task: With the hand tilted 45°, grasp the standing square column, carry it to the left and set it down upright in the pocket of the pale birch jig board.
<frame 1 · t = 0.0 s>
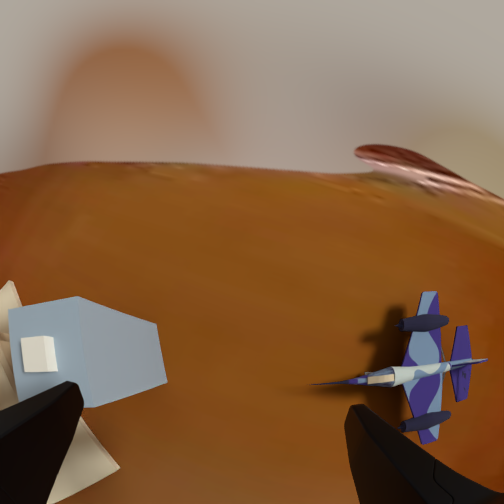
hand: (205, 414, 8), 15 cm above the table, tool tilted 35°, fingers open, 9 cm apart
toy airplane: (401, 371, 22), on the table
square column: (134, 357, 22), on the table
jig: (18, 401, 20), on the table
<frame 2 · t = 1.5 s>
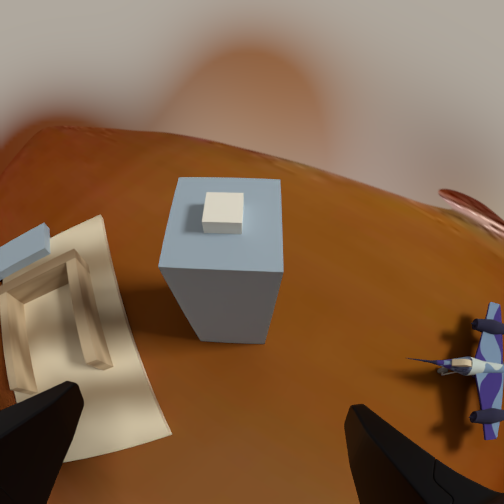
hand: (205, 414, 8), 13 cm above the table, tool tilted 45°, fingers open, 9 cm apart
toy airplane: (467, 374, 20), on the table
square column: (233, 313, 24), on the table
jig: (61, 337, 21), on the table
wing: (11, 261, 24), point 1 cm above the table, touching jig
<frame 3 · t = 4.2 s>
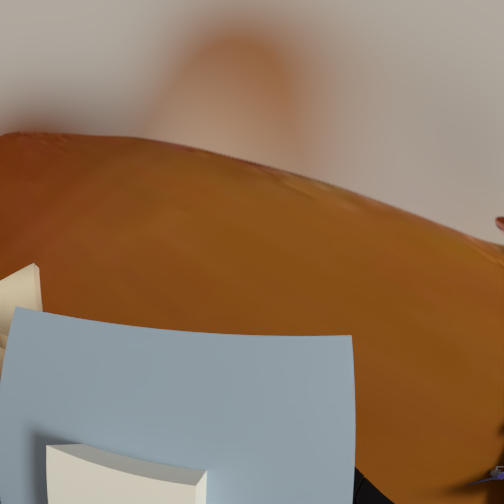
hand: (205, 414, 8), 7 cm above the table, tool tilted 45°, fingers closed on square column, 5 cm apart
square column: (220, 438, 13), on the table, touching gripper
when the fingers open (9 cm above the table, at t = 7.7 s): square column drops 1 cm, resting on jig.
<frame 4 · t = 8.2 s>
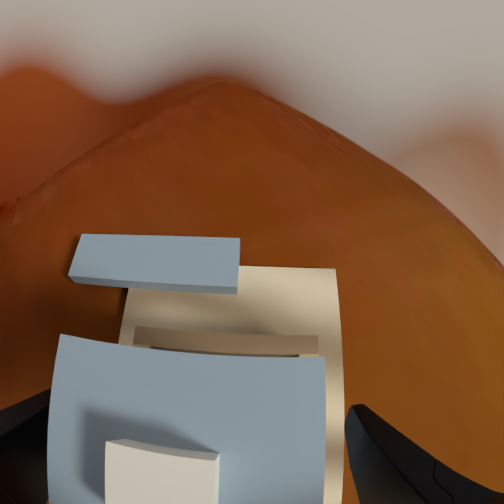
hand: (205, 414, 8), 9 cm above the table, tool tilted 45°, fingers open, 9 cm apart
square column: (223, 435, 14), point 1 cm above the table, touching jig
jig: (224, 434, 15), on the table
wing: (152, 266, 20), point 1 cm above the table, touching jig
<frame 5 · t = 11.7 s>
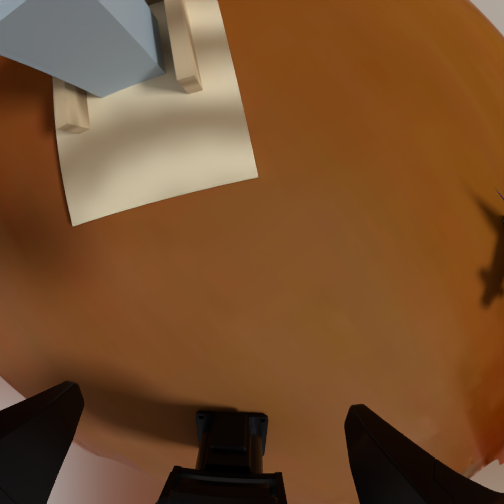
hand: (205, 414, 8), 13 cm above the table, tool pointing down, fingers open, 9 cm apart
square column: (128, 57, 16), point 1 cm above the table, touching jig
jig: (132, 61, 17), on the table
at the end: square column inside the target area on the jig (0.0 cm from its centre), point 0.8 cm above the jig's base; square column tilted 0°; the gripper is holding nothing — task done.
